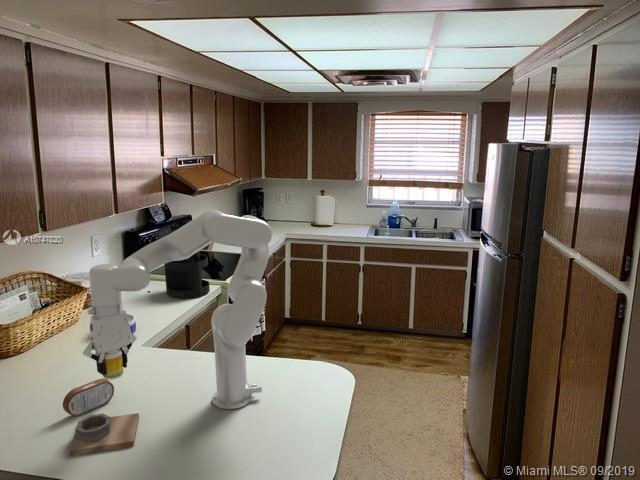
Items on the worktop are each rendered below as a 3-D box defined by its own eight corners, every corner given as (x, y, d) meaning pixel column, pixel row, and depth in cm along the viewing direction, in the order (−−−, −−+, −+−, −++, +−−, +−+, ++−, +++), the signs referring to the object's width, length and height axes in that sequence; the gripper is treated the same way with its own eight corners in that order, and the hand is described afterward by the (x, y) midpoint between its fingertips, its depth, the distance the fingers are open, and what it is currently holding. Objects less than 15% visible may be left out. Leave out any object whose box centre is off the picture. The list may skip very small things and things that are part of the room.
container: (169, 288, 269) (166, 245, 264) (210, 285, 273) (208, 243, 268) (164, 300, 248) (160, 254, 243) (208, 297, 252) (206, 251, 247)
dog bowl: (144, 329, 211) (142, 316, 209) (115, 342, 197) (113, 328, 196) (120, 323, 218) (118, 311, 216) (90, 335, 204) (89, 322, 203)
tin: (111, 397, 155) (109, 373, 153) (116, 400, 153) (114, 376, 151) (63, 418, 143) (60, 392, 142) (68, 421, 141) (65, 396, 140)
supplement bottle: (101, 374, 136) (98, 343, 134) (121, 369, 139) (118, 338, 137) (105, 382, 132) (102, 349, 130) (125, 376, 135) (123, 345, 133)
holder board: (139, 417, 143) (137, 403, 142) (133, 445, 130) (132, 431, 129) (81, 425, 139) (79, 411, 138) (69, 455, 126) (67, 440, 125)
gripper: (82, 321, 122) (88, 385, 126) (143, 304, 135) (147, 363, 139) (69, 314, 127) (76, 376, 131) (129, 298, 140) (134, 356, 144)
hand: (112, 369), depth 135 cm, fingers closed on supplement bottle, 5 cm apart
